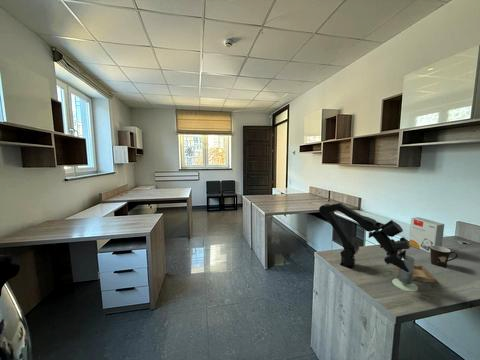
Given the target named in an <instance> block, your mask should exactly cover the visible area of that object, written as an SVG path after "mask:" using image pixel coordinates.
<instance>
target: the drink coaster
mask: <svg viewBox="0 0 480 360" xmlns="http://www.w3.org/2000/svg"><path fill="white" fill-rule="evenodd" d="M391 282H392V284H393V285H394V286H395V287H396V288H397V289H399V290H402V291H404V292H417V291H418V290H419V287H418V285H416V284H415V283H414V282H412V284H405V283H402V282H400V281H399V280H398V277H397V278H393V279H392V281H391Z"/></svg>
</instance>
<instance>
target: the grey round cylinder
mask: <svg viewBox="0 0 480 360" xmlns="http://www.w3.org/2000/svg"><path fill="white" fill-rule="evenodd" d="M401 256H402V261H403V263H404V264H405V265H406V267H407V268H408V270H409V272H406V271H404V270H402V269H401V268H399V271H397V273H398V274H397V278H398V280H399V281H400V282H402V283H405V284H412V283H413V281H414V280H413V269H414V265H415V258H414V257H413V256H411V255H410V256H409V255H400V257H401Z"/></svg>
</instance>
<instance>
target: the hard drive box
mask: <svg viewBox="0 0 480 360" xmlns="http://www.w3.org/2000/svg"><path fill="white" fill-rule="evenodd" d="M444 230H445V224H444V223H441V222H438V221H434V220H431V219H427V218H422V217H418V216H416V217H411V218H410V230H409V240H408V241H409V244H410V246H411V247H413V248H416V249H419V250H421V251H424V252H426V253H429V254H430V246H432V245H435V246H441V247H443V240H444V239H443V238H444V232H445V231H444Z"/></svg>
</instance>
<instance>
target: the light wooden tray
mask: <svg viewBox="0 0 480 360" xmlns="http://www.w3.org/2000/svg"><path fill="white" fill-rule="evenodd" d="M393 267H394V268H395V270H396V271H397V272H398V271H399V267H397V266H395V265H393ZM412 281H418V282H425V283H431V284H436V283H437V280H436V278H435V277H434V276H433V275H432V274H431V273H430V272H429V271H428V269H426V267H424V266H423V265H420V264H419V265H418V264H414V269H413V280H412Z"/></svg>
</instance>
